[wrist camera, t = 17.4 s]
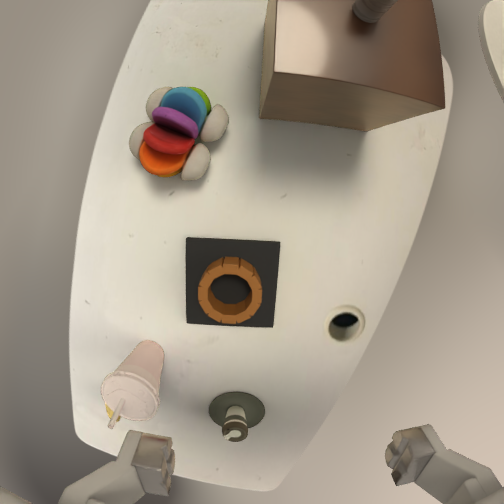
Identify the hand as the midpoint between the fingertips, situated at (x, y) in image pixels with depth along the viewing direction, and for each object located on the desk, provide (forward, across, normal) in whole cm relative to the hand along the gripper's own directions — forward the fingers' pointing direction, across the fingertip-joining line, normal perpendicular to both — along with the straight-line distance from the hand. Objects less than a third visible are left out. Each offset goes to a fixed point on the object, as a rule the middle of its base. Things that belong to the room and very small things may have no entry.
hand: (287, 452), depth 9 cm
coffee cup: (+25, +2, +22) cm, 34 cm away
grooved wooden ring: (+25, +3, +3) cm, 25 cm away
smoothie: (+25, +13, +13) cm, 31 cm away
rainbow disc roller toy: (+26, +9, -13) cm, 30 cm away
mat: (+25, +3, +3) cm, 26 cm away
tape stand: (+26, -5, -21) cm, 34 cm away
